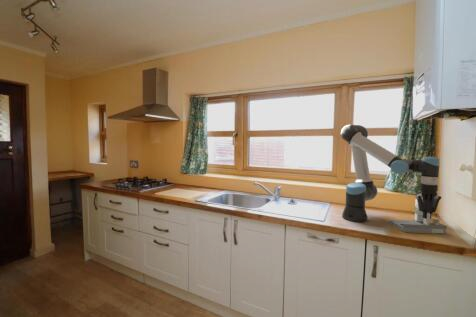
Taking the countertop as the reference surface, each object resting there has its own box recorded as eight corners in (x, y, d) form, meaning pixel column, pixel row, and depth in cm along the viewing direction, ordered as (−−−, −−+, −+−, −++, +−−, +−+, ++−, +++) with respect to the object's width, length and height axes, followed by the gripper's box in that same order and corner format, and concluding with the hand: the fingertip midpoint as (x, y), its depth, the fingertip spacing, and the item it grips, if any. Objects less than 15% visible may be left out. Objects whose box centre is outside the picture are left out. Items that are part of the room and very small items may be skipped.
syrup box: (428, 224, 140) (429, 201, 139) (416, 223, 143) (418, 200, 142) (424, 221, 145) (426, 199, 145) (413, 220, 148) (415, 198, 147)
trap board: (403, 232, 127) (404, 224, 127) (388, 223, 141) (388, 216, 141) (445, 233, 126) (446, 225, 126) (426, 224, 140) (426, 217, 140)
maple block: (429, 227, 128) (430, 219, 127) (423, 224, 133) (423, 216, 132) (438, 228, 127) (439, 219, 127) (431, 224, 132) (432, 216, 132)
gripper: (422, 184, 125) (419, 225, 126) (446, 185, 124) (443, 226, 125) (412, 182, 132) (410, 221, 134) (435, 183, 131) (432, 222, 133)
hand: (426, 223), depth 129 cm, fingers closed
